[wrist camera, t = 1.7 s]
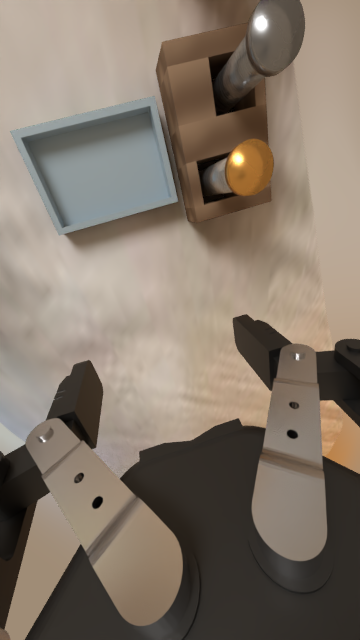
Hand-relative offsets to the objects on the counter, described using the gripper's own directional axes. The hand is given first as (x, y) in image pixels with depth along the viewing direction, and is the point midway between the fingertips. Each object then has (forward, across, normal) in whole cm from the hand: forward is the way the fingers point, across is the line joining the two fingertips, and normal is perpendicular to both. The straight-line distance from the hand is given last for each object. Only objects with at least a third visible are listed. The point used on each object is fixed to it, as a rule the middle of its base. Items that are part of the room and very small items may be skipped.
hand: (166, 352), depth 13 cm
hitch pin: (+24, -11, -8) cm, 28 cm away
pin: (+24, -14, -16) cm, 33 cm away
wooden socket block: (+24, -13, -12) cm, 30 cm away
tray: (+24, +1, -12) cm, 27 cm away
